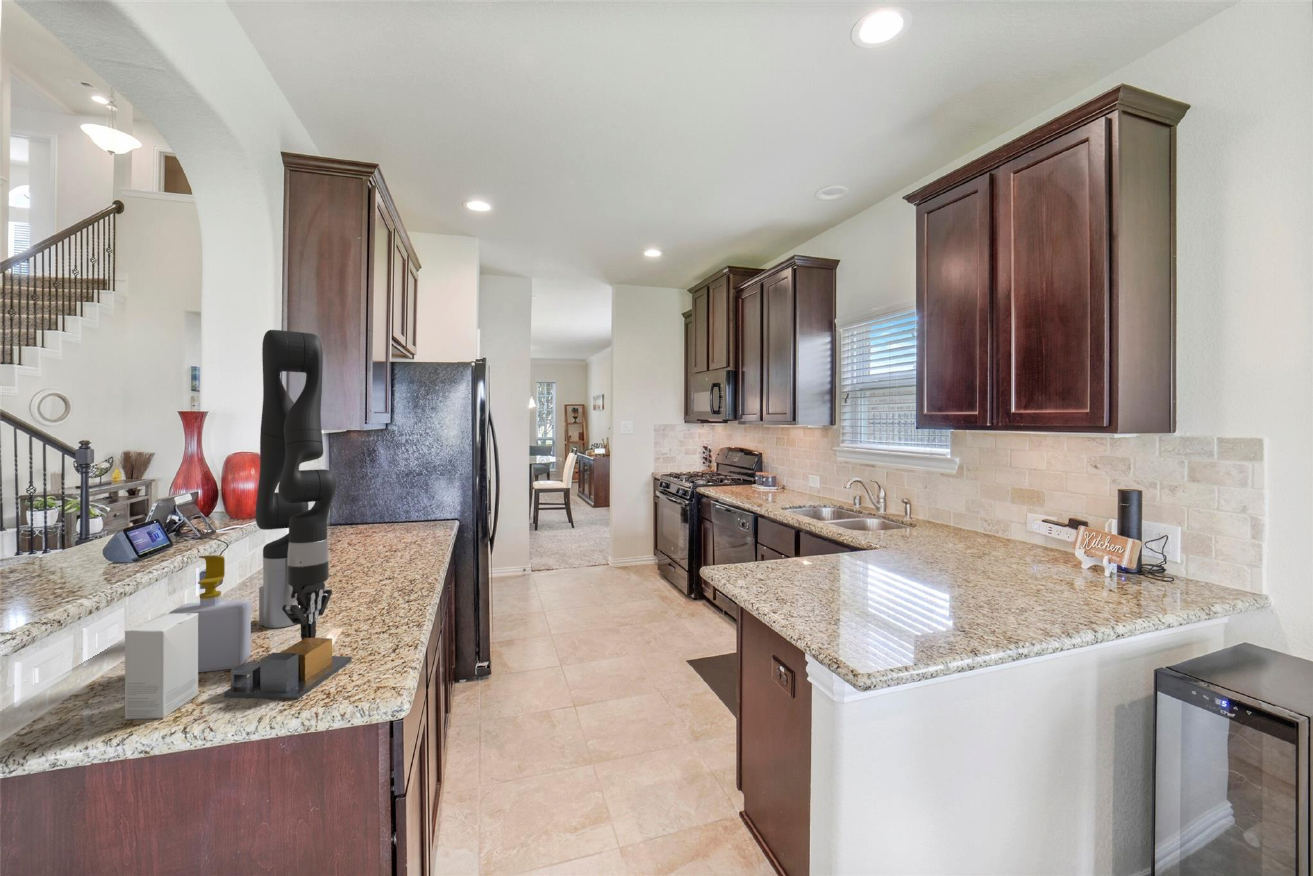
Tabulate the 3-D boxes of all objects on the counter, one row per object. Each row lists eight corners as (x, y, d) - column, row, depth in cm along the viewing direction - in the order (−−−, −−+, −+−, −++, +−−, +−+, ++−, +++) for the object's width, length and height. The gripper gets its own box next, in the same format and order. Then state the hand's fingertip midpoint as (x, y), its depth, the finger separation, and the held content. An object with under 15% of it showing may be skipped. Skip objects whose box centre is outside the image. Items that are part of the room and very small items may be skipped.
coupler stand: (224, 697, 97) (224, 659, 97) (287, 659, 113) (287, 627, 113) (298, 699, 97) (297, 661, 97) (351, 661, 113) (351, 628, 113)
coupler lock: (276, 679, 102) (276, 654, 102) (306, 661, 110) (306, 637, 110) (305, 680, 102) (305, 654, 102) (332, 662, 110) (332, 638, 110)
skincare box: (164, 696, 98) (163, 612, 97) (202, 695, 98) (201, 611, 98) (122, 721, 89) (121, 629, 89) (164, 719, 90) (163, 629, 90)
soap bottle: (165, 677, 105) (164, 560, 105) (183, 662, 111) (183, 552, 111) (238, 669, 109) (238, 556, 108) (252, 656, 115) (252, 549, 115)
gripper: (303, 568, 109) (303, 652, 109) (344, 554, 122) (344, 628, 122) (268, 568, 109) (268, 651, 109) (312, 553, 123) (312, 628, 123)
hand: (308, 639), depth 116 cm, fingers closed
